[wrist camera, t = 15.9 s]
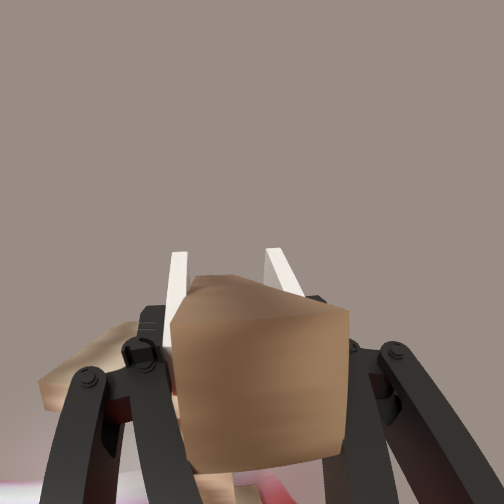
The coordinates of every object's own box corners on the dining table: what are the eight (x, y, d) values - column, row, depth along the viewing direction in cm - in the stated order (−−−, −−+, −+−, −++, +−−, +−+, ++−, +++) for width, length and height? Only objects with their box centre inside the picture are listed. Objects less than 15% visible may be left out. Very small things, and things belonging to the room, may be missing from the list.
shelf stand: (141, 603, 14) (37, 376, 14) (153, 497, 35) (120, 319, 36) (292, 597, 16) (302, 372, 17) (257, 492, 38) (247, 314, 39)
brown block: (189, 474, 6) (169, 324, 6) (197, 312, 34) (195, 276, 34) (342, 453, 7) (349, 310, 7) (234, 310, 34) (232, 274, 35)
